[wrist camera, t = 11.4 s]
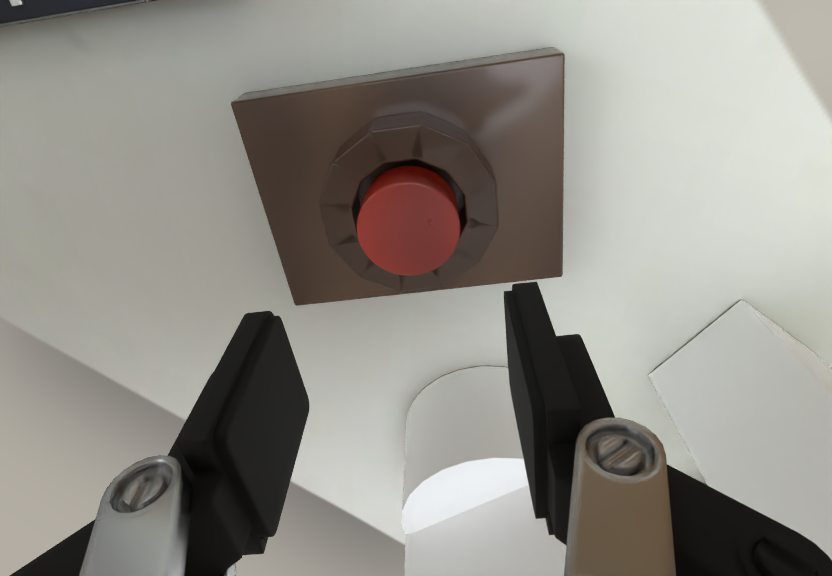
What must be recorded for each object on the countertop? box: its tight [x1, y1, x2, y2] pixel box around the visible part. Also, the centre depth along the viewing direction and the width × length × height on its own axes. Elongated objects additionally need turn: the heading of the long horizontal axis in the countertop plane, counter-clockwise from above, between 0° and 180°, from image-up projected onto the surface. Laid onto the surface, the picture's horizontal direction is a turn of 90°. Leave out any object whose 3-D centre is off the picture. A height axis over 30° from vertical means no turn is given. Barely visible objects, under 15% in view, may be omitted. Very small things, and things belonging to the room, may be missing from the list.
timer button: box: [357, 165, 460, 276], centre depth 18 cm, size 4×4×2 cm
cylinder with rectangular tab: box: [402, 366, 566, 576], centre depth 24 cm, size 9×9×12 cm
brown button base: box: [231, 47, 565, 306], centre depth 20 cm, size 12×9×4 cm
